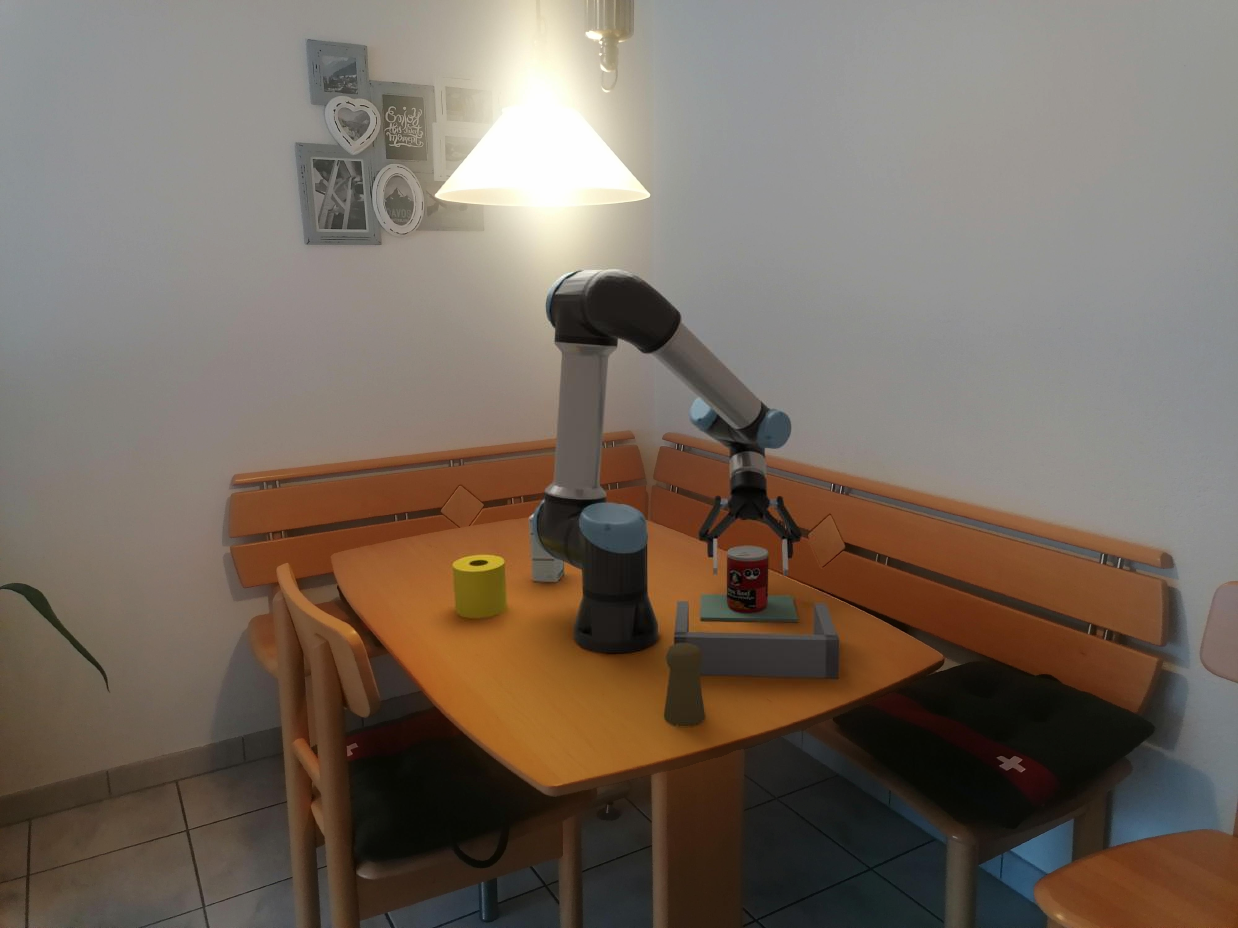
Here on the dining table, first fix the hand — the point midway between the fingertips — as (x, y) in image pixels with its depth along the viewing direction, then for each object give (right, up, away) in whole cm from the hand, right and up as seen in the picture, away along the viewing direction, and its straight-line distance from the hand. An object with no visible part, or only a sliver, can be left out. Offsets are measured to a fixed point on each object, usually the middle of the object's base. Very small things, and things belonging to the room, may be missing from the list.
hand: (750, 572), depth 166 cm
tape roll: (-53, -8, +2) cm, 53 cm away
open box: (-3, -11, -21) cm, 24 cm away
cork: (-16, -16, -41) cm, 47 cm away
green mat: (-1, -7, -1) cm, 7 cm away
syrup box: (-41, -4, +19) cm, 45 cm away
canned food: (-1, -7, -1) cm, 7 cm away
